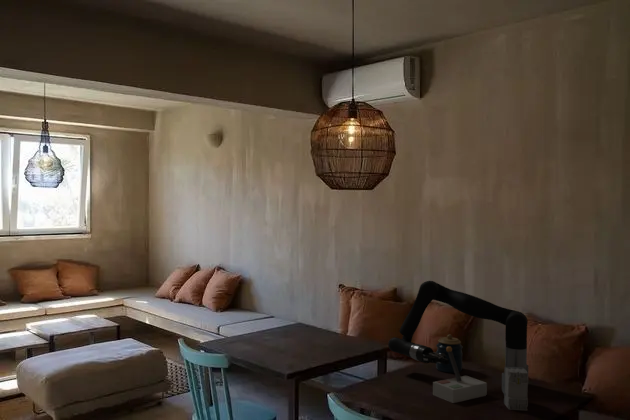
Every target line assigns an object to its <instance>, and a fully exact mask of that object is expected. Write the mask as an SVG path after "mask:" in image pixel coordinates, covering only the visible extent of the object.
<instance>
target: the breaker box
mask: <svg viewBox="0 0 630 420" xmlns="http://www.w3.org/2000/svg"><path fill="white" fill-rule="evenodd" d="M460 377H461V380H462V381H459V382H457V379H456V377H453V378H447V379H442V380H437V381H432V395H433V396H434V397H437V398H439V399H442V400H443V401H444V400H445V401H447V402H449V403H452V404H456V403H460V402H464V401H469V400H473V399H477V398H482V397H486V395H487V394H488V393H487V392H488V390H487V388H488V383H487V382H485V381H483V380H479V379H477V378H475V377H471V376H468V375H463V376H461V375H460Z"/></svg>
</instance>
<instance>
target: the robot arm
mask: <svg viewBox="0 0 630 420" xmlns="http://www.w3.org/2000/svg"><path fill="white" fill-rule="evenodd" d="M432 301H438V302H440V303H444V304H447V305H448V306H451V307H452V308H454V309H455V310H457V311H459V312H461V313H462V314H463V313H464V314H466V315H468V316H471V317H474V318H478V319H482V320H488V321H489V320H490V321H494V322H497V323H499V324H501V325H504V326H505V331H504V332H505V336H504V337H505V360H504V361H505V363H504V364H505V365H504V368H505V367H520V368H524V369H525V370H526V371H527V372H528V373H529V365H528V364H527V363H528V362H527V361H528V359H527V358H528V324H529V323H528V322H529V321H528V317H527V316H526V315H525V314H524V313H523V312H521V311H518V310H514V309H510V308H506V307H502V306H499V305H498V304H497V305H496V304H495V303H493V302H490V301H487V300H485V299H482V298H480V297H478V296H475V295H471V294H469V293H466V292H462V291H458V290H453V289H451V288H449V287H446V286H444V285H442V284H440V283H438V282H436V281H433V280H428V281H427V280H426V281H423V282H422V283H421V284H420V286H419V288H418V291H417V294H416V298H415V300H414V302H413V304H412V307H411V309H410V310H409V312H408V314H407V315H406V317H405V318H404V321H403V322H402V324H401V326H400V328H399V333H400V335H402V338H399V337H397V336H396V337H391V338H390V339H389V340H388V349H389V350H390V351H391V352H393V353H397V354H399V355H404V356H407V357H408V358H411V359H413V360H415V361H418V362H420V363H424V364H436V363H443V364H446V365H447V364H449V359H446V356H445V354H444V353H442V354H441V355H440V354H438V353H436V351H434V349H433V348H431V347H429V346H426V345H423V344H420V343H415V342H412V341H413V336H414V334H415V332H416V330H417V329H418V327H419V324H420V323H421V320H422V318H423V315H424V313H425V311H426V310H427V308H428V306H429V305H430V304H431V303H432Z"/></svg>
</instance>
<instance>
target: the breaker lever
mask: <svg viewBox="0 0 630 420" xmlns="http://www.w3.org/2000/svg"><path fill="white" fill-rule="evenodd" d="M446 351H447V352H448V355H449V358H450V361H451V364H452V367H453V370H454V376H455V378H456V379H457V382H459V381H462V380H461V374H460V372H459V371H458V368H457V364H456V361H455V358H454V355H453V352H452V348H451V347H450V346H448V347H447V348H446Z"/></svg>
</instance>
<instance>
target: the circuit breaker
mask: <svg viewBox="0 0 630 420" xmlns="http://www.w3.org/2000/svg"><path fill="white" fill-rule="evenodd" d="M528 387H529V371H528V372H527V371H526V370H525V369H524V368H520V367H505V366H504V371H503V372H502V373H501V392H502V393H503V397H504V398H503V404H504V405H505V406H506V408H507V409H508V410H510V411H511V410H512V411H529V410H528V406H529V398H528Z"/></svg>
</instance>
